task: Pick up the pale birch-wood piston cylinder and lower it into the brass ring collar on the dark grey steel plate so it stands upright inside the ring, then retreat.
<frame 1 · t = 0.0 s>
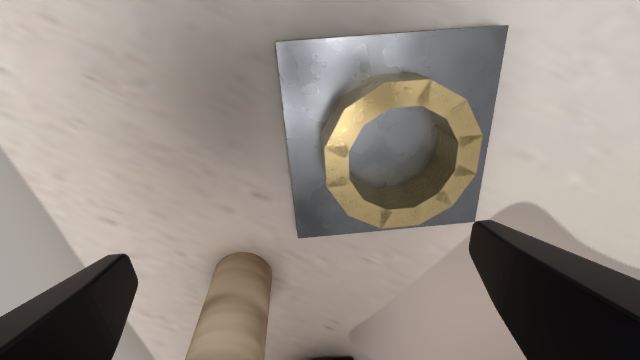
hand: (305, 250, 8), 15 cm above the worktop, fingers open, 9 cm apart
piston: (243, 275, 27), on the worktop
ring collar: (386, 140, 23), on the worktop
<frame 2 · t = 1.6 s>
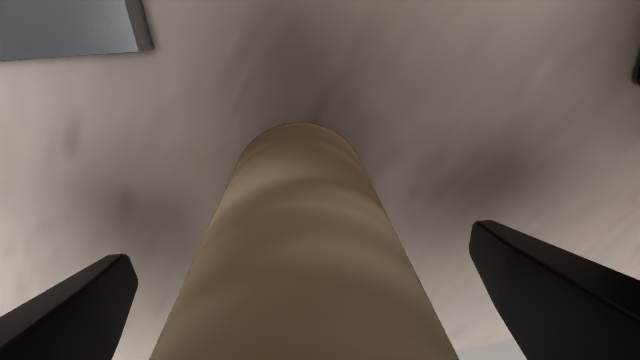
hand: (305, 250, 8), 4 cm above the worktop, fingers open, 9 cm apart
piston: (299, 185, 12), on the worktop
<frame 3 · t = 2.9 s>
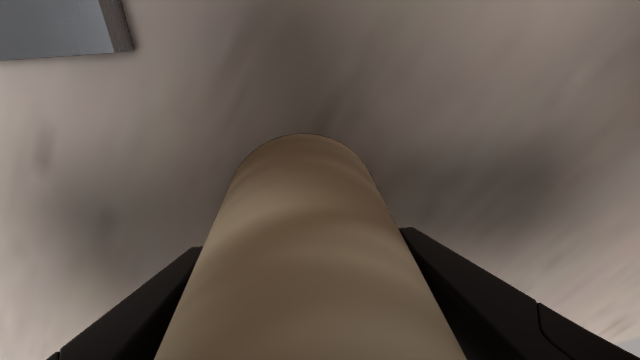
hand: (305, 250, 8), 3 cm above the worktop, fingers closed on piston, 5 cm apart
piston: (303, 203, 11), on the worktop, touching gripper
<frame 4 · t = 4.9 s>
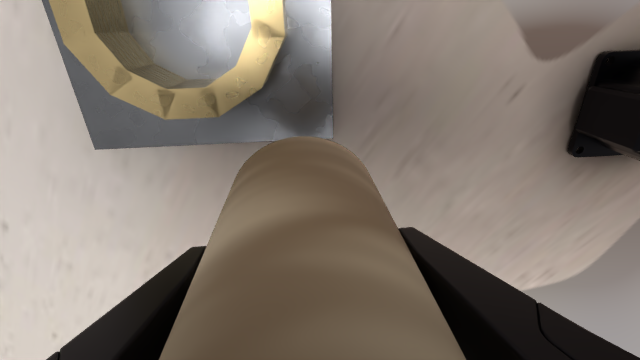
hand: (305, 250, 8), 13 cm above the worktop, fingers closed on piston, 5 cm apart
piston: (304, 205, 11), point 10 cm above the worktop, touching gripper
ring collar: (197, 11, 17), on the worktop
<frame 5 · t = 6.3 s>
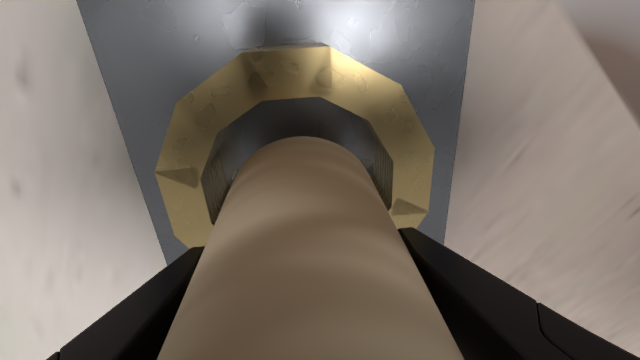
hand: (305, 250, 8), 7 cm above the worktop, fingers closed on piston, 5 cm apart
piston: (303, 205, 11), point 5 cm above the worktop, touching gripper
ring collar: (298, 153, 15), on the worktop
when the fingers open (7 cm above the worktop, at t = 7.1 s): piston drops 3 cm, resting on ring collar.
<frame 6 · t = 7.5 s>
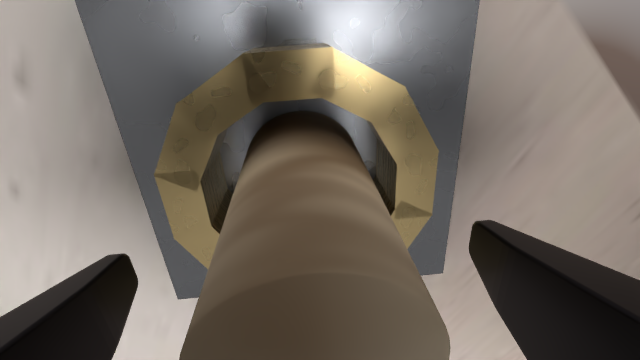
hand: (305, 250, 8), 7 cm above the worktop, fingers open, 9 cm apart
piston: (302, 165, 14), point 1 cm above the worktop, touching ring collar
ring collar: (300, 155, 15), on the worktop
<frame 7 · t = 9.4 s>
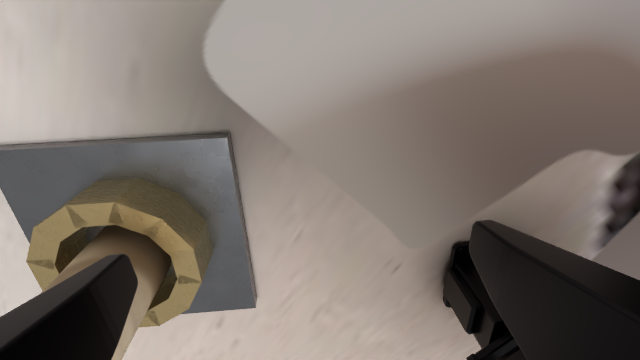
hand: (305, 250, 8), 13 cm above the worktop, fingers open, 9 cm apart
piston: (141, 242, 22), point 1 cm above the worktop, touching ring collar
ring collar: (145, 233, 23), on the worktop
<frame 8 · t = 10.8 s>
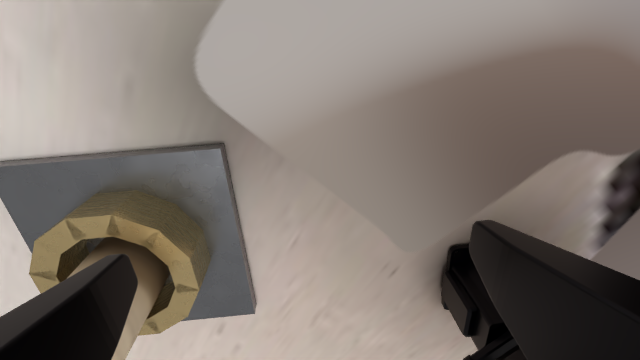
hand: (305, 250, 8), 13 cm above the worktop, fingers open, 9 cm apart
piston: (140, 252, 22), point 1 cm above the worktop, touching ring collar
ring collar: (145, 242, 23), on the worktop
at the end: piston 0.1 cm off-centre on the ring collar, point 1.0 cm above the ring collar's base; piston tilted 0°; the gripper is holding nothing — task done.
